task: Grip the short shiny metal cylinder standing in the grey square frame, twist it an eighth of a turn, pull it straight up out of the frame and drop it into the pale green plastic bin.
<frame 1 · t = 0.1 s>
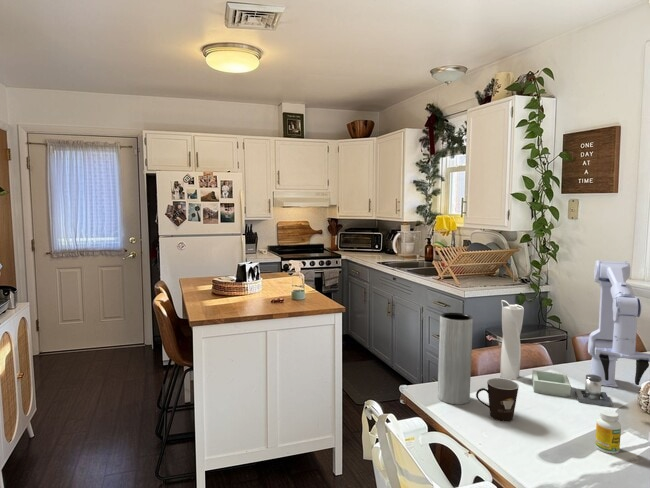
hand: (621, 381, 138), 10 cm above the table, tool pointing down, fingers open, 7 cm apart
grey square frame: (592, 398, 149), on the table
coffee mug: (495, 416, 137), on the table
supplement bottle: (607, 449, 118), on the table
bin: (550, 388, 157), on the table
shiny metal cylinder: (592, 399, 149), resting in grey square frame
vase: (453, 398, 149), on the table
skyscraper: (509, 376, 169), on the table
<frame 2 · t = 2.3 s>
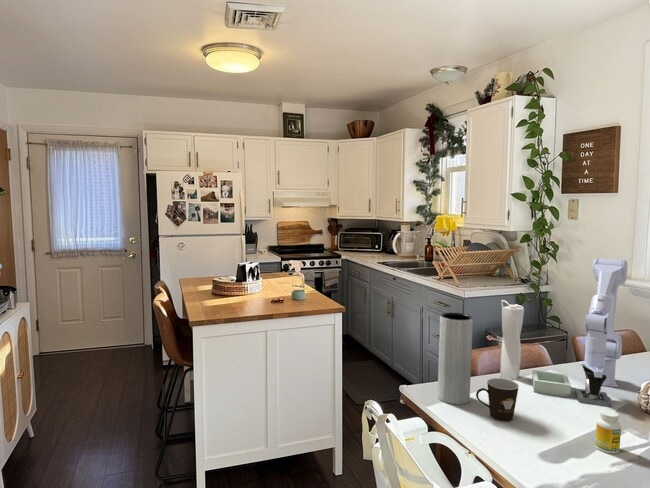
hand: (592, 391, 149), 2 cm above the table, tool pointing down, fingers closed on shiny metal cylinder, 4 cm apart
shiny metal cylinder: (592, 399, 149), resting in grey square frame, touching gripper
everything else where it was.
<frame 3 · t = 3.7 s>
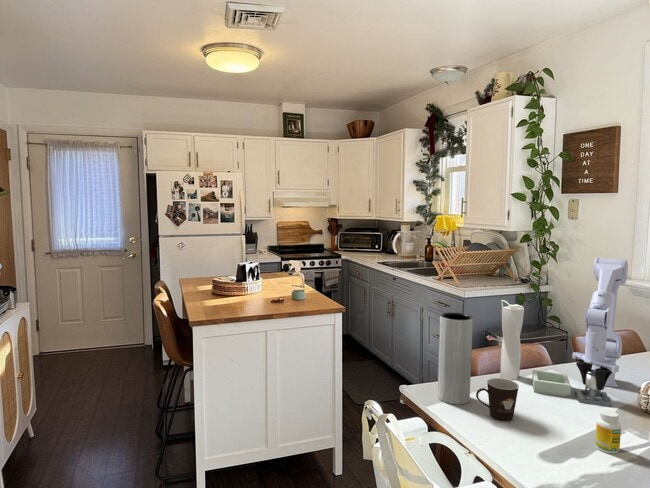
hand: (593, 386, 149), 4 cm above the table, tool pointing down, fingers closed on shiny metal cylinder, 4 cm apart
shiny metal cylinder: (592, 393, 149), point 2 cm above the table, touching gripper
everything else where it was.
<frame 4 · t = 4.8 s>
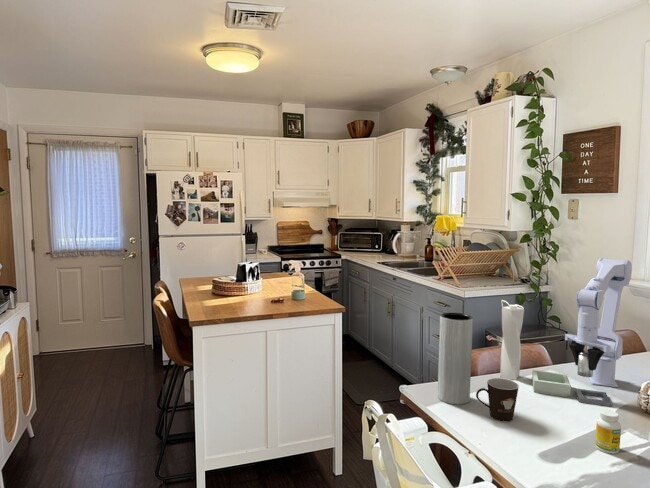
hand: (585, 367, 150), 10 cm above the table, tool pointing down, fingers closed on shiny metal cylinder, 4 cm apart
shiny metal cylinder: (585, 374, 150), point 7 cm above the table, touching gripper
everything else where it was.
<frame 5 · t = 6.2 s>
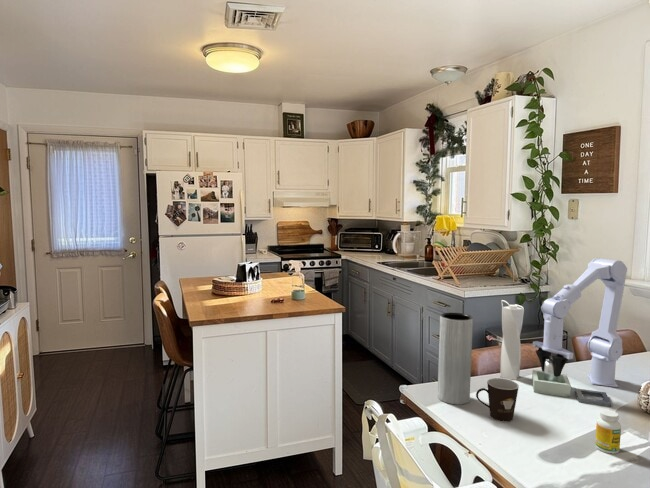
hand: (550, 373, 157), 5 cm above the table, tool pointing down, fingers closed on shiny metal cylinder, 4 cm apart
shiny metal cylinder: (550, 380, 157), point 3 cm above the table, touching gripper
everything else where it was.
when the fingers open (4 cm above the table, at t = 7.3 s): shiny metal cylinder stays where it is, resting on bin.
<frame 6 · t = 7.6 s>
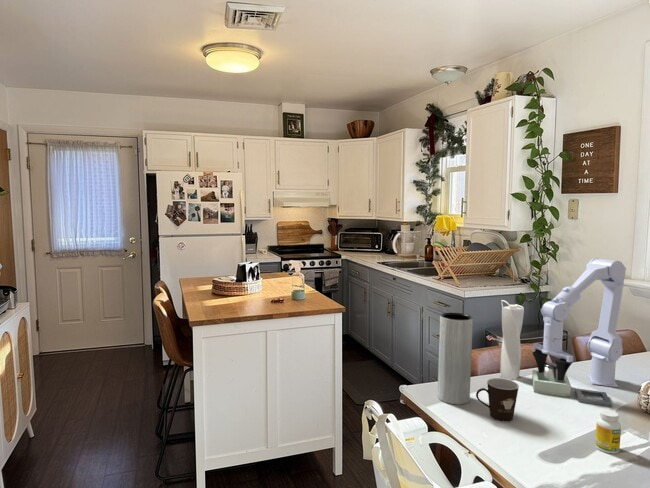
hand: (550, 376, 157), 4 cm above the table, tool pointing down, fingers open, 7 cm apart
shiny metal cylinder: (550, 385, 157), point 1 cm above the table, touching bin
everything else where it was.
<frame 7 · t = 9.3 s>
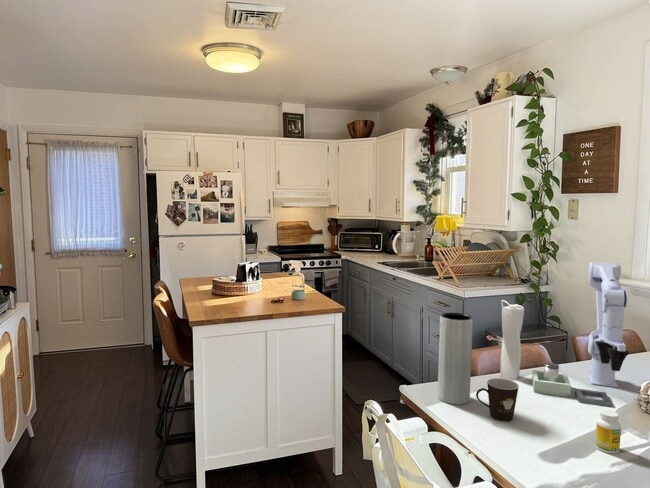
hand: (610, 366, 151), 10 cm above the table, tool pointing down, fingers open, 7 cm apart
nothing on the table moved.
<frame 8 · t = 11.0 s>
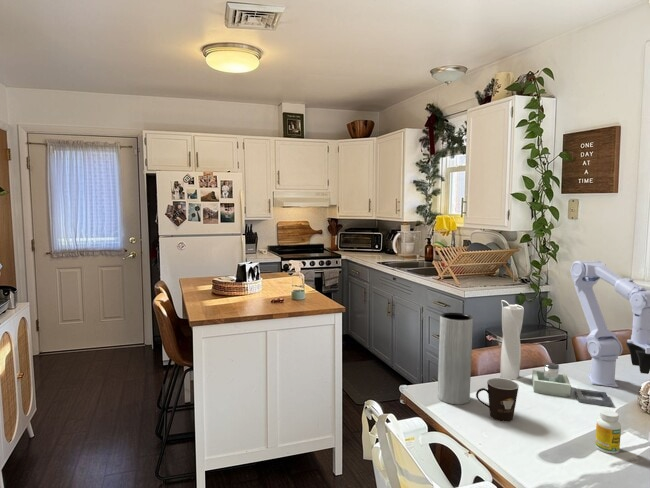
hand: (640, 369, 149), 10 cm above the table, tool pointing down, fingers open, 7 cm apart
nothing on the table moved.
at the end: shiny metal cylinder inside the target area on the bin (0.1 cm from its centre), point 1.0 cm above the bin's base; the gripper is holding nothing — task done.
